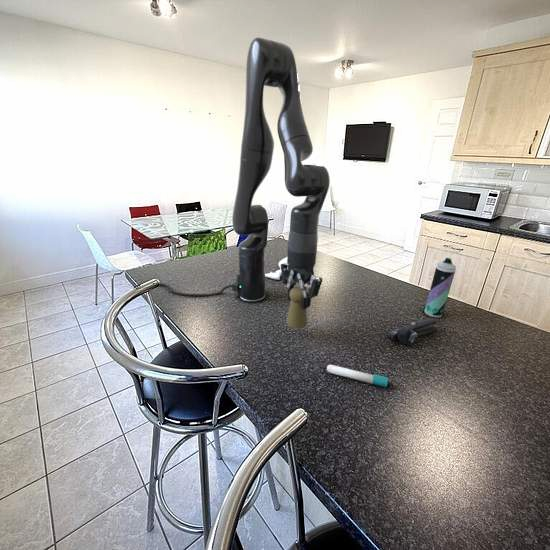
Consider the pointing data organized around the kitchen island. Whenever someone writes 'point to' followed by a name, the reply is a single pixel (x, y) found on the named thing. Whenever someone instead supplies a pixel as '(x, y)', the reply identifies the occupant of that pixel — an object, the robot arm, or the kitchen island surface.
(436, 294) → the spray can
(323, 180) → the robot arm
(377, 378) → the marker
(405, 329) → the can opener
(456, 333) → the kitchen island surface
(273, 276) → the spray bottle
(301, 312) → the cork
